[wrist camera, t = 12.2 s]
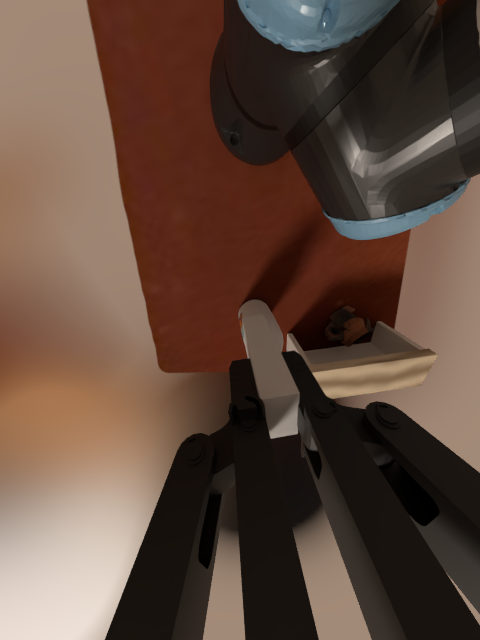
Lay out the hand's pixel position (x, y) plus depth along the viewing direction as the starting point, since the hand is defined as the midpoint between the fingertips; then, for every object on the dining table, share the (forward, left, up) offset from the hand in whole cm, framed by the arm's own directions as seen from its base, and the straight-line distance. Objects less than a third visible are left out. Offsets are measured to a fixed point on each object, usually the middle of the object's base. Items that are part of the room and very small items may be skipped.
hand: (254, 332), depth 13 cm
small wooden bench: (+25, +26, -29) cm, 46 cm away
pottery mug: (+20, +27, -30) cm, 45 cm away
